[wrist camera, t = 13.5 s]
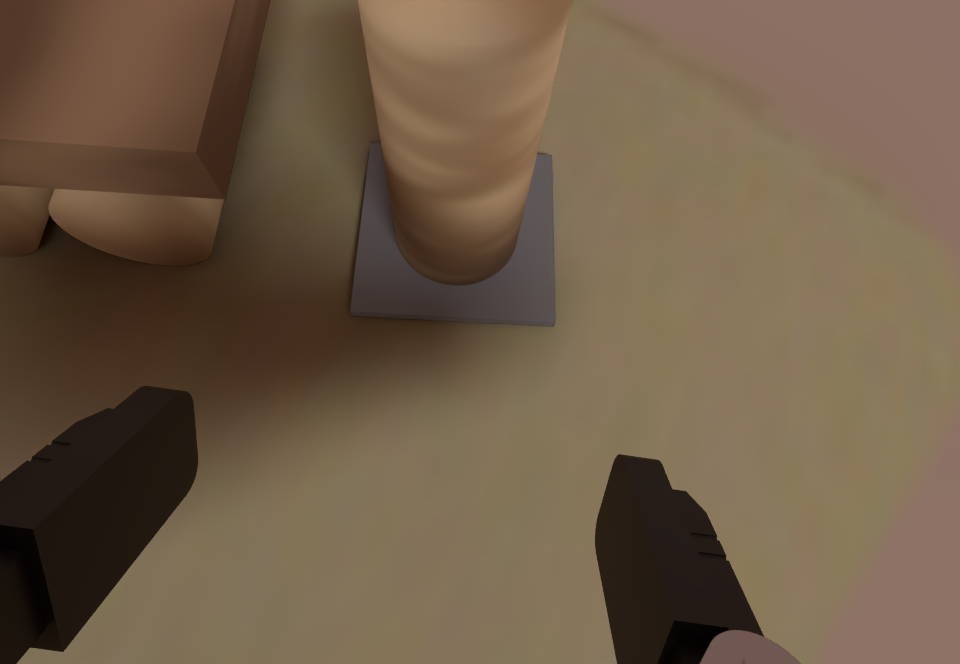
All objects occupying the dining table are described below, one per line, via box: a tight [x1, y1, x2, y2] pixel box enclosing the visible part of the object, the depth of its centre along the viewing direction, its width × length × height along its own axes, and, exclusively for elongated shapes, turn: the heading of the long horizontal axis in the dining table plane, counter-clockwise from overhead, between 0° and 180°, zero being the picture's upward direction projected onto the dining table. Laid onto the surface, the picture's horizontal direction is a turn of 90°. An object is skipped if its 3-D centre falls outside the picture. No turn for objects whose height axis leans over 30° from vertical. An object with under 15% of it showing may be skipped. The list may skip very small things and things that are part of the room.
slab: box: [0, 0, 270, 266], centre depth 18 cm, size 12×10×6 cm
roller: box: [358, 0, 573, 286], centre depth 16 cm, size 4×4×10 cm
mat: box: [350, 142, 555, 327], centre depth 20 cm, size 7×7×1 cm
